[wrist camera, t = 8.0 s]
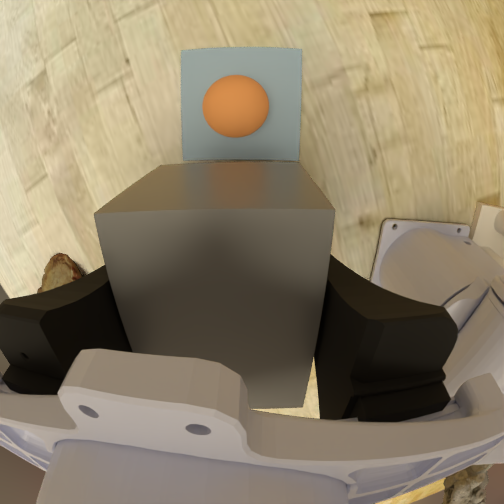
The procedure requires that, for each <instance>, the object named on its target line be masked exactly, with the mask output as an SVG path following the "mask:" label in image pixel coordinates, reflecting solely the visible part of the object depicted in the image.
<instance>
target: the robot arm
mask: <svg viewBox="0 0 504 504" xmlns="http://www.w3.org/2000/svg"><path fill="white" fill-rule="evenodd" d="M393 224H396V226H395V227H394V228H392V226H393ZM458 228H459V230H458V231H457V229H458ZM469 232H470V227H469V226H468V225H466V224H454V223H442V222H428V221H414V220H398V219H386V220H385V221H384V222H383V224H382V229H381V234H380V239H379V244H378V249H377V254H376V258H375V263H374V267H373V271H372V276H371V280H370V281H368V280H366V279H365V278H363V277H361V276H360V275H358V274H357V273H355V272H354V271H352V270H351V269H349V268H348V267H346V266H345V265H344V264H342V263H341V262H340V261H338V260H337V259H336V258H334V257H333V256H332V255H331V254H330V261H329V268H328V275H327V282H326V289H325V295H324V302H323V308H322V314H321V320H320V325H319V331H318V336H317V342H316V347H315V352H314V360H315V368H316V377H317V387H318V398H319V411H320V419H314V418H305V417H297V416H289V415H282V414H275V413H269V412H263V411H257V410H251V409H250V408H249V405H248V389H247V387H246V385H245V383H244V381H243V379H242V377H241V375H239V374H237V373H236V372H234V371H232V370H231V369H229V368H227V367H226V366H224V365H222V364H221V363H218V362H214V361H209V360H204V359H199V358H190V357H175V356H162V355H151V354H141V353H133V351H132V348H131V346H130V343H129V340H128V337H127V335H126V332H125V329H124V326H123V323H122V320H121V317H120V314H119V311H118V308H117V304H116V301H115V298H114V295H113V291H112V288H111V284H110V281H109V277H108V273H107V270H106V266H105V265H104V266H102V267H100V268H99V269H97V270H95V271H93V272H91V273H89V274H88V275H86V276H83V277H81V278H79V279H77V280H75V281H72V282H70V283H67V284H65V285H62V286H59V287H56V288H54V289H51V290H48V291H44V292H41V293H37V294H33V295H28V296H23V297H18V298H12V299H6V300H5V301H3V302H2V303H1V304H0V349H1V351H2V352H3V354H4V356H5V357H6V359H7V360H8V362H9V363H10V366H9V368H8V369H7V371H6V372H5V374H4V375H2V373H1V371H0V445H1V446H3V447H5V448H6V449H8V450H9V451H11V452H13V453H14V454H16V455H18V456H19V457H21V458H23V459H24V460H26V461H28V462H30V463H31V464H33V465H35V466H37V467H39V468H40V469H42V470H44V471H46V474H45V477H44V480H43V483H42V486H41V489H40V492H39V495H38V498H37V501H36V504H375V503H378V502H381V501H385V500H388V499H391V498H394V497H397V496H400V495H403V494H405V493H408V492H411V491H413V490H416V489H419V488H421V487H424V486H426V485H429V484H431V483H433V482H436V481H438V480H440V479H443V478H445V477H447V476H450V475H452V474H454V473H456V472H458V471H460V470H463V469H465V468H467V467H469V466H471V465H482V464H495V463H504V269H503V267H502V266H501V265H500V264H498V263H497V262H496V261H495V260H494V259H493V258H492V257H491V256H490V255H488V254H487V253H486V252H485V251H484V250H483V249H482V248H480V247H479V246H478V245H477V244H476V243H474V242H473V241H472V240H471V239H470V238H468V236H469Z"/></svg>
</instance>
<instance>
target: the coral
mask: <svg viewBox="0 0 504 504" xmlns="http://www.w3.org/2000/svg"><path fill="white" fill-rule="evenodd" d="M492 465H493V464H482V465H471V466H469V467H467V468H465V469H463V470H460V471H458V472H456V473H454V474H452V475H450V476H447V477H445V478H446V479H445V480H444V483H443V484H444V486H445V490H444V493H445V494H444V498H443V503H442V504H485V499H486V498H485V495H486V490H484V488H485V486H486V485H487V483H488V480H489V479H488V475H487V473H488V471H487V470H488V469H489V468H490V467H491V466H492Z"/></svg>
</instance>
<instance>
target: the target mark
mask: <svg viewBox="0 0 504 504" xmlns="http://www.w3.org/2000/svg"><path fill="white" fill-rule="evenodd" d="M230 75H243V76H247V77H249V78H252V79H254V80H255V81H256V82H258V83H259V84H260V85H261V86H262V87H263V89H264V90H265V92H266V94H267V96H268V100H269V111H268V115H267V118H266V120H265V122H264V123H263V125H262V126H261V127H260V128H259V129H258V130H256V131H255V132H254V133H252V134H250V135H247V136H244V137H238V138H233V137H226V136H223V135H221V134H219V133H217V132H216V131H214V130H213V129H212V128H211V127H210V126H209V125H208V123H207V122H206V120H205V117H204V115H203V109H202V105H203V99H204V96H205V94H206V92H207V90H208V89H209V87H210V86H211V85H212V84H213V83H214V82H216V81H217V80H219V79H221V78H223V77H226V76H230ZM301 84H302V49H293V48H276V47H222V48H204V49H192V50H182V51H181V120H182V149H183V161H188V160H289V161H299V147H300V122H301Z"/></svg>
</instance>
